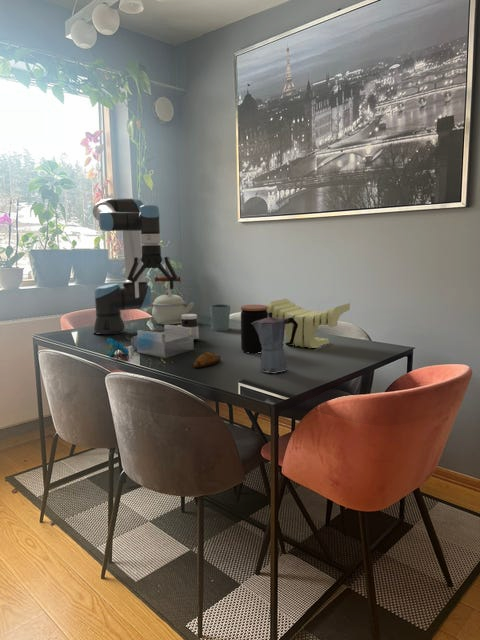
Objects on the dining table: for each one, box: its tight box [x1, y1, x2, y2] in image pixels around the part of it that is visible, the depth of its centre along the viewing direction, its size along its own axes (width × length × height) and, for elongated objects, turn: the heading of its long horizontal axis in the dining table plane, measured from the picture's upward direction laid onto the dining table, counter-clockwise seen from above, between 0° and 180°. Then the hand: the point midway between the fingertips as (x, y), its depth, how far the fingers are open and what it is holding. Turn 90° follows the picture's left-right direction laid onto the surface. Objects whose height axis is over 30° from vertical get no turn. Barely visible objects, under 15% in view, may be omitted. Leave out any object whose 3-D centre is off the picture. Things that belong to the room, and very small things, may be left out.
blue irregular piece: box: [106, 337, 130, 357], centre depth 183 cm, size 11×6×10 cm
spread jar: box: [177, 313, 200, 343], centre depth 208 cm, size 12×11×12 cm
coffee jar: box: [240, 304, 268, 353], centre depth 186 cm, size 11×11×18 cm
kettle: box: [150, 276, 195, 325], centre depth 253 cm, size 25×18×25 cm
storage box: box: [130, 324, 195, 359], centre depth 191 cm, size 22×16×10 cm
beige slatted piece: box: [267, 298, 351, 349], centre depth 195 cm, size 30×16×18 cm, turn 53°
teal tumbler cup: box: [209, 303, 231, 332], centre depth 233 cm, size 10×10×12 cm
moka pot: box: [252, 312, 298, 372], centre depth 157 cm, size 10×15×20 cm, turn 95°
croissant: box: [192, 351, 221, 369], centre depth 168 cm, size 14×7×5 cm, turn 143°
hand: (153, 297), depth 192 cm, fingers open, 13 cm apart
